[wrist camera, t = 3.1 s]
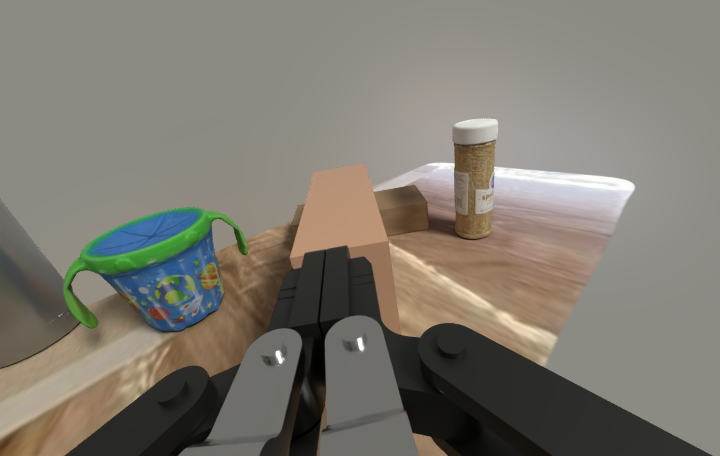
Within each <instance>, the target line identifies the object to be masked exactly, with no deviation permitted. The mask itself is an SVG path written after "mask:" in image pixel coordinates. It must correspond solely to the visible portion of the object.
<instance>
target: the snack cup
mask: <svg viewBox="0 0 720 456" xmlns="http://www.w3.org/2000/svg"><path fill="white" fill-rule="evenodd" d="M215 219H222V220H223V221H225V222H226V223H228V224H229V225H231V226H232V227H233V228H234V233H235V236H236V239H237V244H238V248H239V251H240V252H241V253H242V254H243V255H247V253H248V250H247V244H246V240H245V238H244V236H243V233H242V232H241V230H240V229H239V227H238V226H237V225H236V224H235V223H234V222H233V221H232V220H231V219H229V218H228V217H227V216H225V215H222V214H220V213H217V212H213V211H205V210H203V209H201V208H195V207H187V208H178V209H172V210H168V211H163V212H159V213H155V214H152V215H148V216H145V217H142V218H139V219H136V220H133V221H131V222H128V223H126V224H123V225H121V226H119V227H116V228H114V229H112V230H110V231H108V232H106V233H104V234H102V235H101V236H99V237H97V238H96V239H94V240H93V241H91V242H90V243H89V244H88V245H86V247H85V248H84V249H83V250H82V252H81V255H80V257H79V258H78V259H77V260H76V261H74V263H73V264H72V265H71V267H70V268H69V270H68V272H67V274H66V276H65V279H64V286H63V293H64V297H65V301H66V304H67V306H68V308H69V309H70V311H71V312H72V314H73V315H74V316H75V318H76V319H77V320H78V321H80V322H81V323H82V324H83V325H85V326H86V327H88V328H95V327H96V326H97V325H98V322H97V319H96V317H95V316H94V314H93V313H92V312H91V311H89V310H88V309H87V308H86V307H85V305H83V304H82V303H81V302H80V301H79V300H78V298H77V297H76V296H75V295H74V294H73V290H72V286H71V283H72V281H73V279H74V277H75V276H76V274H77V273H78V272H80V271H83V270H89V271H93V272H95V273H98V274H100V275H101V276H102V277H103V278H104V279H105V280H106V281H107V282H108V283H109V284H110V285H111V286H112V287H113V288H114V289H115V290H116V291H117V292H118V293H119V294H120V295H121V296H122V297H123V298H124V299H125V300H126V301H127V302H128V303H129V304H130V305H131V306H132V307H133V308H134V309H135V310H136V311H137V312H138V313H139V314H140V315H142V316H143V317H144V318H145V320H146V322H148V324H150V325H151V326H152V327H154V328H156V329H158V330H161V331H173V330H174V331H180V330H183V329H185V328H186V327H188V326H190V325H193V324H195V323H197V322H199V321H200V320H202V319H203V318H205V317H206V316H207V315H208V314H209V313H212V312H213V311H216V310H217V309H218V308H219V304H220V302H221V300H222V299H223V296H224V284H223V280H222V276H221V272H220V269H219V265H218V261H217V258H216V255H215V250H214V246H213V241H212V240H213V239H212V226H211V224H212V221H213V220H215Z"/></svg>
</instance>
